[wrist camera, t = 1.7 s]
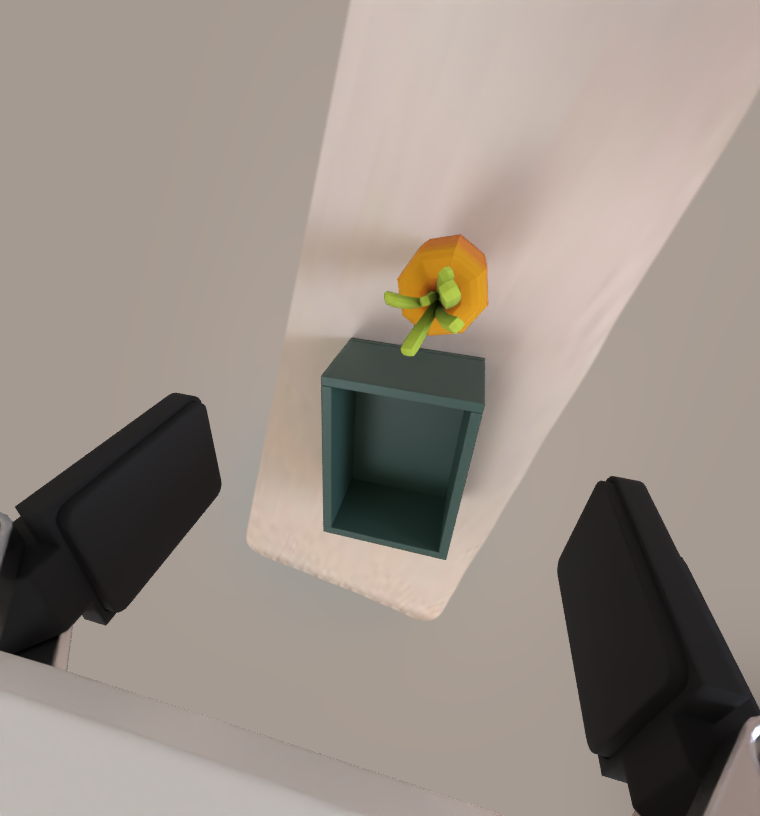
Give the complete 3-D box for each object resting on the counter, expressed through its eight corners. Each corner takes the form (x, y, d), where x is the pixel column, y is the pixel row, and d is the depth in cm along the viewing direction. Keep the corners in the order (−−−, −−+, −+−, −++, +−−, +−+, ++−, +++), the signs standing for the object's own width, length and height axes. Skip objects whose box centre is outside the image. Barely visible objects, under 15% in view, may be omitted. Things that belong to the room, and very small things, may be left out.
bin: (351, 337, 34) (320, 375, 28) (485, 357, 33) (485, 403, 26) (346, 478, 43) (323, 531, 37) (452, 500, 41) (446, 560, 35)
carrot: (440, 300, 31) (410, 391, 18) (409, 242, 29) (352, 299, 17) (501, 268, 29) (512, 346, 16) (471, 203, 27) (458, 235, 15)
